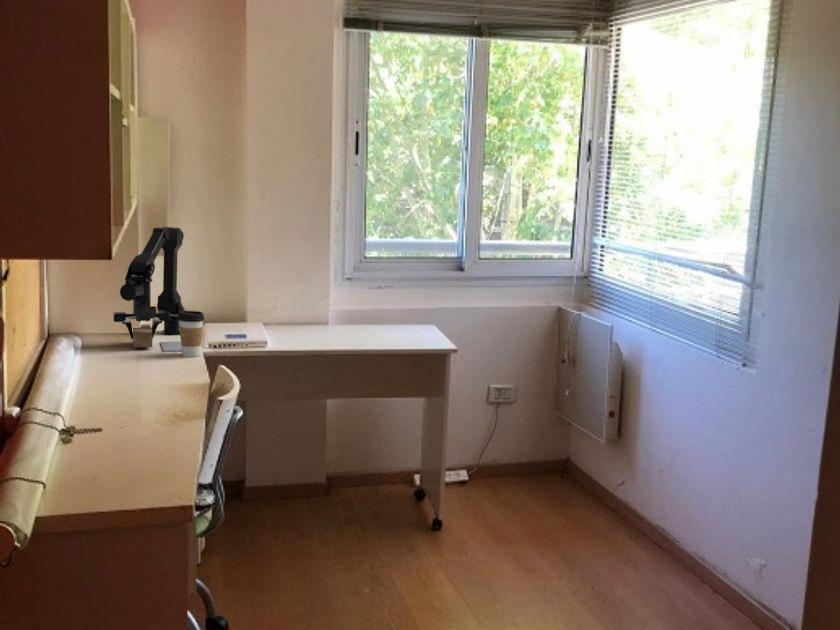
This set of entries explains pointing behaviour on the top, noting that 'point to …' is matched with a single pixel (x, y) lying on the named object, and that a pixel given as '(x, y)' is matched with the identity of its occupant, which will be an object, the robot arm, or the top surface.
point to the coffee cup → (191, 332)
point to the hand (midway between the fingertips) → (142, 340)
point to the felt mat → (171, 346)
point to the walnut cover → (142, 336)
